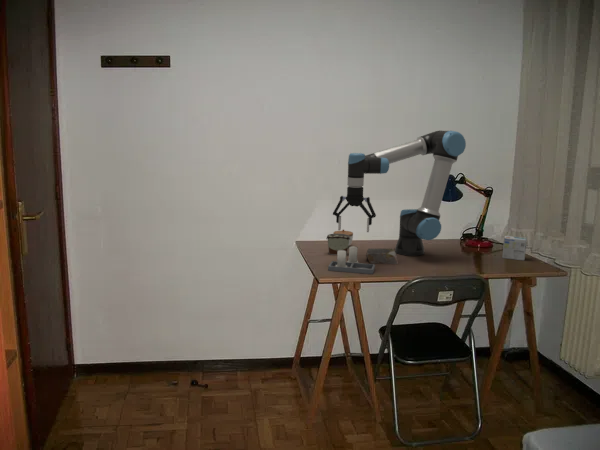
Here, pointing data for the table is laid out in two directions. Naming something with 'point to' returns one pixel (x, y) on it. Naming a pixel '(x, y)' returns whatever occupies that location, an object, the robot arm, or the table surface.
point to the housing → (349, 265)
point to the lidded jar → (346, 234)
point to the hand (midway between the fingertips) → (353, 230)
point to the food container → (337, 243)
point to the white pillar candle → (353, 254)
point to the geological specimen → (382, 256)
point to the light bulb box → (514, 248)
